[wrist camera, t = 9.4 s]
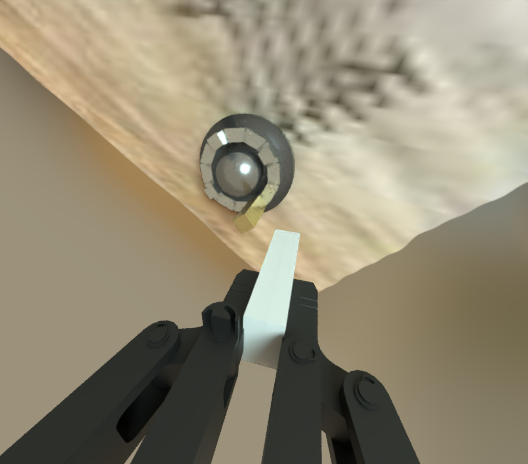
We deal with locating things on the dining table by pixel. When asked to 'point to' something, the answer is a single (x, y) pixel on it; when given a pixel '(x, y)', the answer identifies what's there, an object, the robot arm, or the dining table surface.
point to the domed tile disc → (245, 205)
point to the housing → (251, 160)
